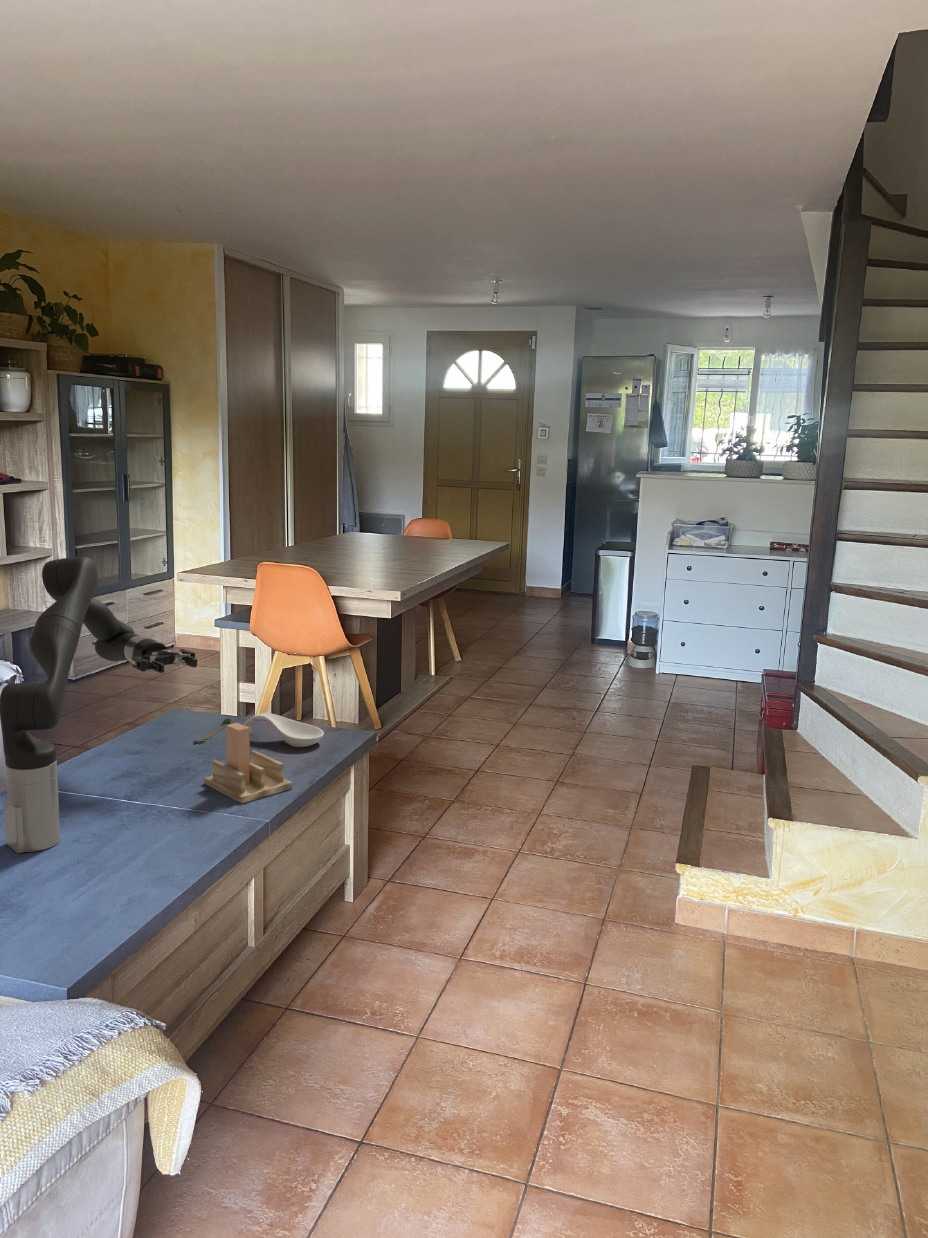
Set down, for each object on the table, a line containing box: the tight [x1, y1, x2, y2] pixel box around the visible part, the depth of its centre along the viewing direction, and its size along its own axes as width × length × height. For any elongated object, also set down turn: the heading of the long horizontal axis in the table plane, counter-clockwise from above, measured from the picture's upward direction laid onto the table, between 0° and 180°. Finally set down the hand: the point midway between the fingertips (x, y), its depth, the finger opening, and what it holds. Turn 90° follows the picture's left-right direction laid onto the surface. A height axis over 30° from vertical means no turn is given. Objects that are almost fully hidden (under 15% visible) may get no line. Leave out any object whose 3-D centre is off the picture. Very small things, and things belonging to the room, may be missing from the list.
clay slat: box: [225, 722, 251, 785], centre depth 214 cm, size 3×5×14 cm, turn 48°
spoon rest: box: [243, 712, 325, 748], centre depth 249 cm, size 24×12×7 cm, turn 75°
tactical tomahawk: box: [193, 718, 232, 745], centre depth 254 cm, size 21×7×1 cm, turn 170°
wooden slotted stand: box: [203, 749, 293, 804], centre depth 217 cm, size 14×16×6 cm
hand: (179, 666), depth 215 cm, fingers open, 8 cm apart
